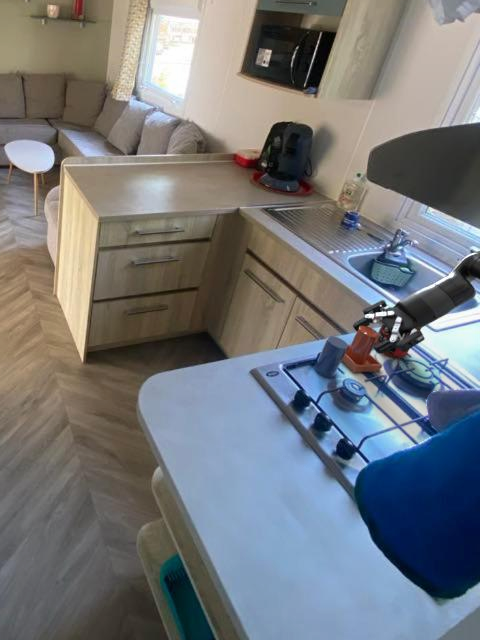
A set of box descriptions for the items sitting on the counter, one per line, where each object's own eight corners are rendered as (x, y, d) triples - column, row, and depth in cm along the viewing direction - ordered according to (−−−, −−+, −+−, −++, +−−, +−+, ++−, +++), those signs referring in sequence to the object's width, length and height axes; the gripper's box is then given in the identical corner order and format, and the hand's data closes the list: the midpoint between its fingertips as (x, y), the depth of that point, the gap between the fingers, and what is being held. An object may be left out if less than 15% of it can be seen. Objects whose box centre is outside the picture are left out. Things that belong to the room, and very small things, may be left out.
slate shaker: (338, 377, 104) (352, 348, 100) (322, 377, 103) (336, 349, 99) (326, 363, 108) (339, 335, 104) (310, 364, 107) (323, 336, 103)
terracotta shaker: (369, 364, 110) (383, 337, 106) (354, 365, 108) (368, 337, 105) (356, 352, 114) (369, 325, 110) (342, 352, 112) (355, 325, 109)
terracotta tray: (379, 371, 108) (382, 365, 108) (353, 372, 107) (356, 366, 106) (356, 349, 115) (359, 344, 115) (332, 350, 114) (334, 344, 113)
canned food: (367, 339, 121) (383, 307, 117) (392, 340, 122) (408, 309, 118) (385, 357, 114) (403, 325, 110) (412, 359, 115) (430, 327, 111)
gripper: (399, 280, 109) (342, 313, 113) (444, 313, 96) (378, 349, 100) (409, 299, 112) (353, 330, 115) (453, 333, 99) (389, 368, 102)
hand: (364, 339), depth 108 cm, fingers open, 8 cm apart
